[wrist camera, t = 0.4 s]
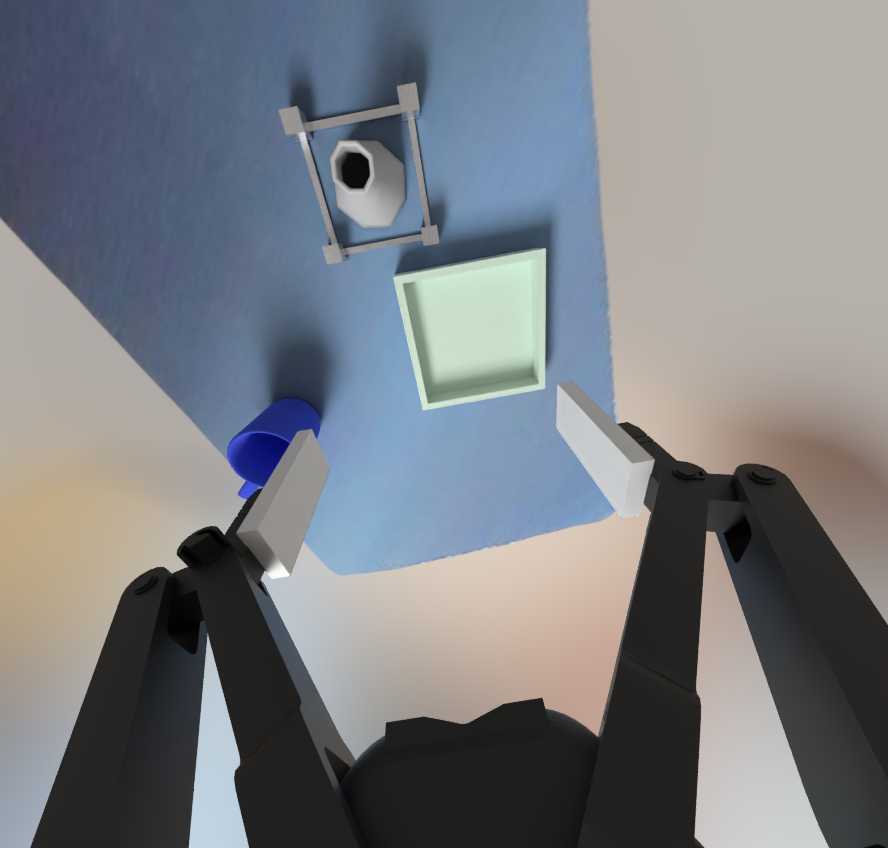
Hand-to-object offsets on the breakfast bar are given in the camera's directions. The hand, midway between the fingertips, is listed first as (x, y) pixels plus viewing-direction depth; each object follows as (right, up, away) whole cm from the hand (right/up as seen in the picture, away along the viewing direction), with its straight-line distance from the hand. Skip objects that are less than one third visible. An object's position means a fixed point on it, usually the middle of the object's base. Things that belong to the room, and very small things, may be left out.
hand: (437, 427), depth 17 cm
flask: (-7, +24, +14) cm, 29 cm away
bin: (+4, +12, +22) cm, 25 cm away
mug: (-21, 0, +27) cm, 35 cm away
